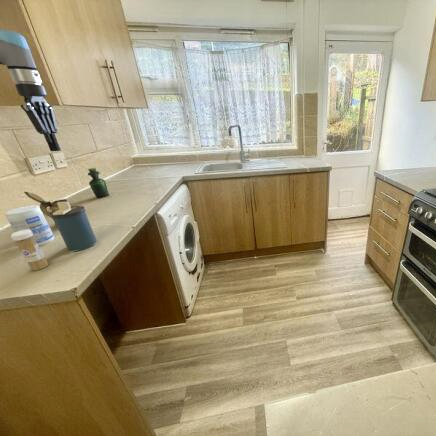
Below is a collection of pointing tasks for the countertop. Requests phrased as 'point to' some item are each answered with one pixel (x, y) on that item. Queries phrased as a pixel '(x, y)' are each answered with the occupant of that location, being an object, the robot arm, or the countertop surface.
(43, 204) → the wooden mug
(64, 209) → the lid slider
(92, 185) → the potion bottle
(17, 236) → the sprinkles bottle
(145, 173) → the countertop surface
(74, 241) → the tumbler
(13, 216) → the supplement tub
